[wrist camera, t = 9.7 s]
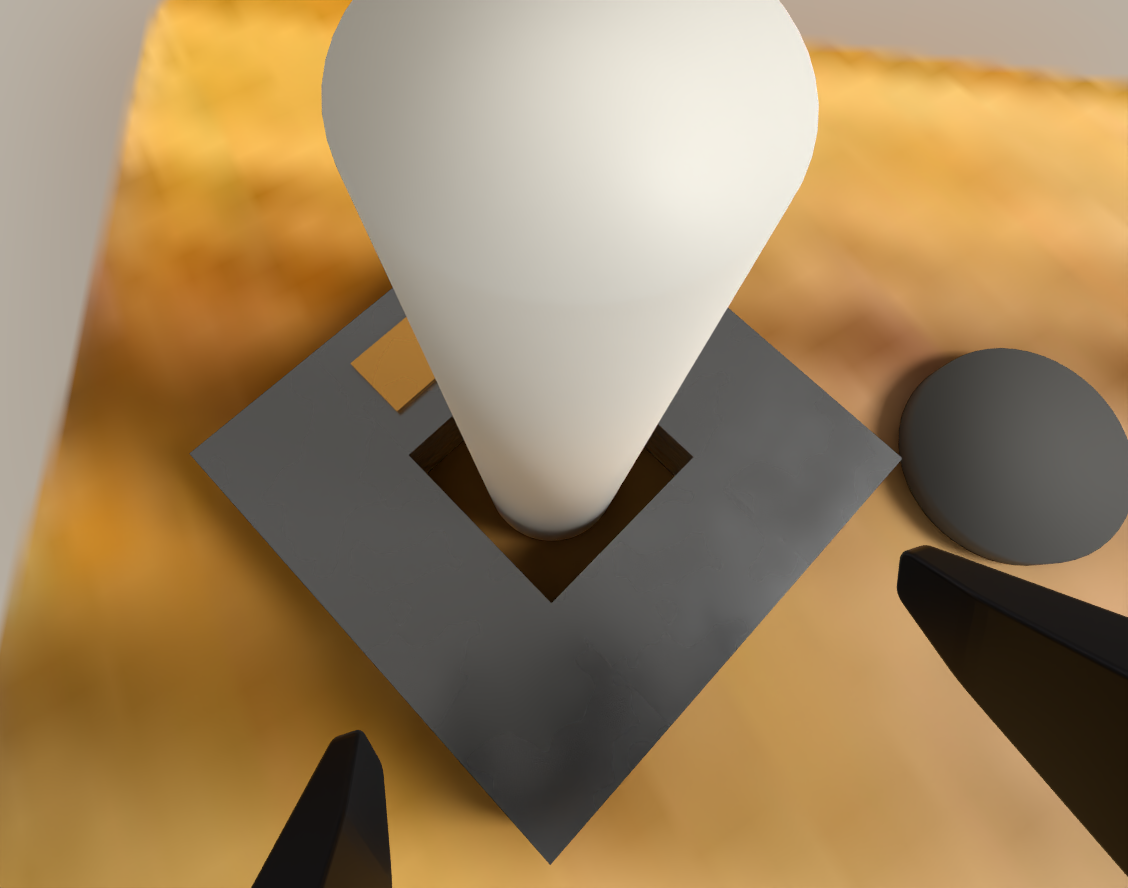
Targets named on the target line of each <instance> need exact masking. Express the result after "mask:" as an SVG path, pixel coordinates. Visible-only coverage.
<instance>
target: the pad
mask: <svg viewBox="0 0 1128 888" xmlns="http://www.w3.org/2000/svg"><path fill="white" fill-rule="evenodd" d="M899 454H900V457H901V458H902V459H901V464H902V469H903V472H904V475H905V478H906V481H907V484H908V486H909V488H910V490H911V492H912V494H913V496H914V498H915V499H916V501H917V502H918V504H919V505H920V507H921V508H922V510H923V511H924V512H925V514H926V515H927V516H928V517H929V518H930V520H931V521H932V522H933V523H934V524H935V525H936V526H937V527H938V528H939V529H940V530H941V531H942V532H943V533H944V534H946V535H947V536H948V537H950V538H951V539H952V540H953V541H955V542H956V543H958V544H959V545H961V546H963V547H964V548H966V549H967V550H969V551H971V552H973V553H975V554H978V555H980V556H982V557H984V558H987V559H990V560H993V561H997V562H1001V563H1006V564H1011V565H1024V566H1029V565H1043V564H1053V563H1062V562H1067V561H1072V560H1076V559H1079V558H1081V557H1084V556H1086V555H1089V554H1090V553H1092V552H1094V551H1096V550H1097V549H1099V548H1101V547H1102V546H1103V545H1104V544H1105V543H1107V542H1108V541H1109V540H1110V539H1111V538H1112V537H1113V536H1114V535H1115V533H1116V532H1117V531H1118V530H1119V529H1120V527H1121V525H1122V524H1123V522H1124V520H1125V519H1126V516H1127V514H1128V440H1127V437H1126V435H1125V432H1124V430H1123V428H1122V426H1121V424H1120V422H1119V420H1118V419H1117V417H1116V415H1115V414H1114V412H1113V411H1112V409H1111V408H1110V407H1109V405H1108V404H1107V403H1106V401H1105V400H1104V399H1103V398H1102V397H1101V396H1100V394H1099V393H1098V392H1097V391H1096V390H1095V389H1094V388H1093V387H1092V386H1091V385H1089V384H1088V383H1087V382H1086V381H1085V380H1084V379H1083V378H1081V377H1080V376H1078V375H1077V374H1076V373H1074V372H1073V371H1071V370H1070V369H1068V368H1067V367H1065V366H1063V365H1061V364H1059V363H1058V362H1056V361H1053V360H1051V359H1049V358H1046V357H1044V356H1041V355H1038V354H1035V353H1032V352H1028V351H1022V350H1017V349H1006V348H996V349H985V350H980V351H975V352H972V353H969V354H966V355H963V356H961V357H959V358H957V359H955V360H953V361H951V362H950V363H948V364H946V365H945V366H943V367H942V368H940V369H938V370H937V371H935V372H934V373H932V374H931V375H930V376H928V377H927V378H926V379H925V380H924V381H923V382H922V383H921V384H920V385H919V386H918V387H917V388H916V390H915V391H914V392H913V394H912V395H911V397H910V399H909V401H908V402H907V404H906V406H905V409H904V412H903V415H902V418H901V423H900V428H899Z"/></svg>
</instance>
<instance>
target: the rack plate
mask: <svg viewBox="0 0 1128 888" xmlns="http://www.w3.org/2000/svg"><path fill="white" fill-rule="evenodd" d="M463 440H464V439H463V437H462V435H461V432H460V430H459V428H458V426H457V424H456V422H455V420H454V417H453V415H452V413H451V411H450V409H449V407H448V405H447V402H446V400H445V398H444V396H443V394H442V392H441V390H440V387H439V385H438V383H437V381H436V379H435V377H434V375H433V372H432V370H431V368H430V366H429V364H428V362H427V360H426V357H425V355H424V353H423V351H422V349H421V347H420V345H419V342H418V340H417V338H416V336H415V334H414V332H413V330H412V327H411V325H410V323H409V321H408V319H407V317H406V315H405V312H404V310H403V308H402V306H401V304H400V302H399V300H398V297H397V295H396V293H395V291H394V289H393V288H392V289H391V290H390V291H388V292H387V293H386V294H385V295H383V296H382V297H381V298H380V299H379V300H377V301H376V302H375V303H374V304H372V305H371V306H370V307H369V308H368V309H366V310H365V311H364V312H363V313H361V314H360V315H359V316H358V317H356V318H355V319H354V320H353V321H352V322H350V323H349V324H348V325H347V326H345V327H344V328H343V329H342V330H341V331H339V332H338V333H337V334H336V335H334V336H333V337H332V338H331V339H329V340H328V341H327V342H326V343H325V344H323V345H322V346H321V347H320V348H318V349H317V350H316V351H315V352H314V353H312V354H311V355H310V356H309V357H307V358H306V359H305V360H304V361H302V362H301V363H300V364H299V365H298V366H296V367H295V368H294V369H293V370H291V371H290V372H289V373H288V374H287V375H285V376H284V377H283V378H282V379H280V380H279V381H278V382H277V383H276V384H274V385H273V386H272V387H271V388H269V389H268V390H267V391H266V392H264V393H263V394H262V395H261V396H260V397H258V398H257V399H256V400H255V401H253V402H252V403H251V404H250V405H249V406H247V407H246V408H245V409H244V410H242V411H241V412H240V413H239V414H237V415H236V416H235V417H234V418H233V419H231V420H230V421H229V422H228V423H226V424H225V425H224V426H223V427H222V428H220V429H219V430H218V431H217V432H215V433H214V434H213V435H212V436H210V437H209V438H208V439H207V440H206V441H204V442H203V443H202V444H201V445H199V446H198V447H197V448H196V449H195V450H193V451H192V452H191V453H190V455H191V456H192V457H193V458H194V459H195V461H196V462H197V463H198V464H199V465H200V466H201V467H202V469H203V470H204V471H205V472H206V473H207V474H208V475H209V477H210V478H211V479H212V480H213V481H214V482H215V483H216V485H217V486H218V487H219V488H220V489H221V490H222V491H223V493H224V494H225V495H226V496H227V497H228V498H229V499H230V501H231V502H232V503H233V504H234V505H235V506H236V507H237V508H238V510H239V511H240V512H241V513H242V514H243V515H244V516H245V518H246V519H247V520H248V521H249V522H250V523H251V524H252V526H253V527H254V528H255V529H256V530H257V531H258V532H259V534H260V535H261V536H262V537H263V538H264V539H265V540H266V542H267V543H268V544H269V545H270V546H271V547H272V548H273V550H274V551H275V552H276V553H277V554H278V555H279V556H280V557H281V559H282V560H283V561H284V562H285V563H286V564H287V565H288V567H289V568H290V569H291V570H292V571H293V572H294V573H295V575H296V576H297V577H298V578H299V579H300V580H301V581H302V583H303V584H304V585H305V586H306V587H307V588H308V589H309V591H310V592H311V593H312V594H313V595H314V596H315V597H316V599H317V600H318V601H319V602H320V603H321V604H322V605H323V606H324V608H325V609H326V610H327V611H328V612H329V613H330V614H331V616H332V617H333V618H334V619H335V620H336V621H337V622H338V624H339V625H340V626H341V627H342V628H343V629H344V630H345V632H346V633H347V634H348V635H349V636H350V637H351V638H352V640H353V641H354V642H355V643H356V644H357V645H358V646H359V648H360V649H361V650H362V651H363V652H364V653H365V654H366V655H367V657H368V658H369V659H370V660H371V661H372V662H373V663H374V665H375V666H376V667H377V668H378V669H379V670H380V671H381V673H382V674H383V675H384V676H385V677H386V678H387V679H388V681H389V682H390V683H391V684H392V685H393V686H394V687H395V689H396V690H397V691H398V692H399V693H400V694H401V695H402V697H403V698H404V699H405V700H406V701H407V702H408V703H409V704H410V706H411V707H412V708H413V709H414V710H415V711H416V712H417V714H418V715H419V716H420V717H421V718H422V719H423V720H424V722H425V723H426V724H427V725H428V726H429V727H430V728H431V730H432V731H433V732H434V733H435V734H436V735H437V736H438V738H439V739H440V740H441V741H442V742H443V743H444V744H445V746H446V747H447V748H448V749H449V750H450V751H451V752H452V753H453V755H454V756H455V757H456V758H457V759H458V760H459V761H460V763H461V764H462V765H463V766H464V767H465V768H466V769H467V771H468V772H469V773H470V774H471V775H472V776H473V777H474V779H475V780H476V781H477V782H478V783H479V784H480V785H481V787H482V788H483V789H484V790H485V791H486V792H487V793H488V795H489V796H490V797H491V798H492V799H493V800H494V801H495V802H496V804H497V805H498V806H499V807H500V808H501V809H502V810H503V812H504V813H505V814H506V815H507V816H508V817H509V818H510V820H511V821H512V822H513V823H514V824H515V825H516V826H517V828H518V829H519V830H520V831H521V832H522V833H523V834H524V836H525V837H526V838H527V839H528V840H529V841H530V842H531V844H532V845H533V846H534V847H535V848H536V849H537V850H538V851H539V853H540V854H541V855H542V856H543V857H544V858H545V859H546V861H547V862H548V863H549V864H550V865H551V863H552V862H553V861H554V860H555V859H556V858H557V856H558V855H559V854H560V853H561V852H562V851H563V850H564V848H565V847H566V846H567V845H568V844H569V843H570V841H571V840H572V839H573V838H574V837H575V836H576V835H577V833H578V832H579V831H580V830H581V829H582V828H583V826H584V825H585V824H586V823H587V822H588V821H589V820H590V818H591V817H592V816H593V815H594V814H595V813H596V811H597V810H598V809H599V808H600V807H601V806H602V805H603V803H604V802H605V801H606V800H607V799H608V798H609V796H610V795H611V794H612V793H613V792H614V791H615V790H616V788H617V787H618V786H619V785H620V784H621V783H622V781H623V780H624V779H625V778H626V777H627V776H628V775H629V773H630V772H631V771H632V770H633V769H634V768H635V766H636V765H637V764H638V763H639V762H640V761H641V760H642V758H643V757H644V756H645V755H646V754H647V753H648V751H649V750H650V749H651V748H652V747H653V746H654V745H655V743H656V742H657V741H658V740H659V739H660V738H661V736H662V735H663V734H664V733H665V732H666V731H667V730H668V728H669V727H670V726H671V725H672V724H673V723H674V721H675V720H676V719H677V718H678V717H679V716H680V715H681V713H682V712H683V711H684V710H685V709H686V708H687V706H688V705H689V704H690V703H691V702H692V701H693V699H694V698H695V697H696V696H697V695H698V694H699V693H700V691H701V690H702V689H703V688H704V687H705V686H706V684H707V683H708V682H709V681H710V680H711V679H712V678H713V676H714V675H715V674H716V673H717V672H718V671H719V669H720V668H721V667H722V666H723V665H724V664H725V663H726V661H727V660H728V659H729V658H730V657H731V656H732V654H733V653H734V652H735V651H736V650H737V649H738V648H739V646H740V645H741V644H742V643H743V642H744V641H745V639H746V638H747V637H748V636H749V635H750V634H751V633H752V631H753V630H754V629H755V628H756V627H757V626H758V624H759V623H760V622H761V621H762V620H763V619H764V618H765V616H766V615H767V614H768V613H769V612H770V611H771V609H772V608H773V607H774V606H775V605H776V604H777V603H778V601H779V600H780V599H781V598H782V597H783V596H784V594H785V593H786V592H787V591H788V590H789V589H790V588H791V586H792V585H793V584H794V583H795V582H796V581H797V579H798V578H799V577H800V576H801V575H802V574H803V573H804V571H805V570H806V569H807V568H808V567H809V566H810V564H811V563H812V562H813V561H814V560H815V559H816V558H817V556H818V555H819V554H820V553H821V552H822V551H823V549H824V548H825V547H826V546H827V545H828V544H829V543H830V541H831V540H832V539H833V538H834V537H835V536H836V534H837V533H838V532H839V531H840V530H841V529H842V528H843V526H844V525H845V524H846V523H847V522H848V521H849V519H850V518H851V517H852V516H853V515H854V514H855V513H856V511H857V510H858V509H859V508H860V507H861V506H862V504H863V503H864V502H865V501H866V500H867V499H868V498H869V496H870V495H871V494H872V493H873V492H874V491H875V489H876V488H877V487H878V486H879V485H880V484H881V483H882V481H883V480H884V479H885V478H886V477H887V476H888V474H889V473H890V472H891V471H892V470H893V469H894V468H895V466H896V465H897V464H898V463H899V462H900V461H901V459H902V458H901V457H900V456H899V455H898V454H897V453H896V452H894V451H893V450H892V449H891V448H890V447H889V446H888V445H886V444H885V443H884V442H883V441H882V440H881V439H879V438H878V437H877V436H876V435H875V434H874V433H872V432H871V431H870V430H869V429H868V428H867V427H865V426H864V425H863V424H862V423H861V422H860V421H859V420H857V419H856V418H855V417H854V416H853V415H852V414H850V413H849V412H848V411H847V410H846V409H845V408H843V407H842V406H841V405H840V404H839V403H838V402H837V401H835V400H834V399H833V398H832V397H831V396H830V395H828V394H827V393H826V392H825V391H824V390H823V389H821V388H820V387H819V386H818V385H817V384H816V383H815V382H813V381H812V380H811V379H810V378H809V377H808V376H806V375H805V374H804V373H803V372H802V371H801V370H799V369H798V368H797V367H796V366H795V365H794V364H793V363H791V362H790V361H789V360H788V359H787V358H786V357H784V356H783V355H782V354H781V353H780V352H779V351H777V350H776V349H775V348H774V347H773V346H772V345H770V344H769V343H768V342H767V341H766V340H765V339H764V338H762V337H761V336H760V335H759V334H758V333H757V332H755V331H754V330H753V329H752V328H751V327H750V326H748V325H747V324H746V323H745V322H744V321H743V320H742V319H740V318H739V317H738V316H737V315H736V314H735V313H733V312H732V311H731V310H730V309H729V308H727V309H726V311H725V313H724V314H723V316H722V318H721V319H720V321H719V323H718V324H717V326H716V328H715V329H714V331H713V333H712V334H711V336H710V338H709V339H708V341H707V343H706V344H705V346H704V348H703V349H702V351H701V353H700V354H699V356H698V358H697V359H696V361H695V363H694V364H693V366H692V368H691V369H690V371H689V373H688V374H687V376H686V378H685V379H684V381H683V383H682V384H681V386H680V388H679V389H678V391H677V393H676V394H675V396H674V398H673V399H672V401H671V403H670V404H669V406H668V408H667V409H666V411H665V413H664V414H663V416H662V418H661V419H660V421H659V423H658V424H657V426H656V428H655V429H654V431H653V433H652V434H651V436H650V438H649V439H648V441H647V443H646V444H645V446H644V447H645V448H646V449H647V450H648V451H649V452H650V453H651V454H652V455H653V456H654V457H655V458H656V459H657V460H659V461H660V462H661V463H662V464H663V465H664V466H665V467H666V468H667V469H668V470H669V471H670V472H671V473H672V474H673V475H674V476H675V477H674V478H673V479H672V480H671V481H670V482H669V483H668V484H667V485H666V486H665V487H664V488H663V489H662V490H661V491H660V492H659V493H658V494H657V495H656V496H655V497H654V498H653V499H652V500H651V501H650V502H649V503H648V504H647V505H646V507H645V508H644V509H643V510H642V511H641V512H640V513H639V514H638V515H637V516H636V517H635V518H634V519H633V520H632V521H631V522H630V523H629V524H628V525H627V526H626V527H625V528H624V529H623V530H622V531H621V532H620V533H619V534H618V535H617V536H616V537H615V538H614V539H613V540H612V541H611V543H610V544H609V545H608V546H607V547H606V548H605V549H604V550H603V551H602V552H601V553H600V554H599V555H598V556H597V557H596V558H595V559H594V560H593V561H592V562H591V563H590V564H589V565H588V566H587V567H586V568H585V569H584V570H583V571H582V572H581V573H580V574H579V575H578V576H577V578H576V579H575V580H574V581H573V582H572V583H571V584H570V585H569V586H568V587H567V588H566V589H565V590H564V591H563V592H562V593H561V594H560V595H559V596H558V597H557V598H556V599H555V600H554V601H553V602H552V603H551V602H550V601H549V600H548V599H547V598H546V597H545V596H544V595H543V594H542V593H541V592H540V591H539V590H538V589H537V588H536V587H535V586H534V585H533V584H532V583H531V582H530V581H529V580H528V579H527V578H526V577H525V575H524V574H523V573H522V572H521V571H520V570H519V569H518V568H517V567H516V566H515V565H514V564H513V563H512V562H511V561H510V560H509V559H508V558H507V557H506V556H505V555H504V554H503V553H502V552H501V551H500V550H499V548H498V547H497V546H496V545H495V544H494V543H493V542H492V541H491V540H490V539H489V538H488V537H487V536H486V535H485V534H484V533H483V532H482V531H481V530H480V529H479V528H478V527H477V526H476V525H475V524H474V523H473V522H472V520H471V519H470V518H469V517H468V516H467V515H466V514H465V513H464V512H463V511H462V510H461V509H460V508H459V507H458V506H457V505H456V504H455V503H454V502H453V501H452V500H451V499H450V498H449V497H448V496H447V495H446V494H445V492H444V491H443V490H442V489H441V488H440V487H439V486H438V485H437V484H436V483H435V482H434V481H433V480H432V479H431V478H430V477H429V476H428V475H427V473H428V472H429V471H430V470H431V469H432V468H434V467H435V466H436V465H437V464H438V463H439V462H440V461H441V460H442V459H443V458H445V457H446V456H447V455H448V454H449V453H450V452H451V451H452V450H453V449H454V448H455V447H457V446H458V445H459V444H460V443H461V442H462V441H463Z"/></svg>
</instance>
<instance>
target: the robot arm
mask: <svg viewBox="0 0 1128 888" xmlns="http://www.w3.org/2000/svg"><path fill="white" fill-rule="evenodd" d="M897 592H898V595H899V598H900V600H901V602H902V603H903V605H904V606H905V607H906V609H907V610H908V612H909V613H910V614H911V616H912V617H913V619H914V620H915V621H916V623H917V624H918V626H919V627H920V628H921V630H922V631H923V633H924V634H925V635H926V637H927V638H928V640H929V641H930V642H931V644H932V645H933V647H934V648H935V649H936V651H937V652H938V654H939V655H940V657H941V658H942V659H943V661H944V662H945V664H946V665H947V666H948V668H949V669H950V670H951V672H952V673H953V674H954V676H955V677H956V678H957V680H958V681H959V682H960V683H961V685H962V686H963V687H964V688H965V689H966V691H967V692H968V693H969V694H970V695H971V697H972V698H973V699H974V700H975V701H976V702H977V703H978V705H979V706H980V707H981V708H982V709H983V710H984V712H985V713H986V714H987V715H988V716H989V717H990V718H991V720H992V721H993V722H994V723H995V724H996V725H997V727H998V728H999V729H1000V730H1001V731H1002V732H1003V733H1004V735H1005V736H1006V737H1007V738H1008V739H1009V740H1010V742H1011V743H1012V744H1013V745H1014V746H1015V747H1016V748H1017V750H1018V751H1019V752H1020V753H1021V754H1022V755H1023V757H1024V758H1025V759H1026V760H1027V761H1028V762H1029V763H1030V765H1031V766H1032V767H1033V768H1034V769H1035V770H1036V772H1037V773H1038V774H1039V775H1040V776H1041V777H1042V778H1043V780H1044V781H1045V782H1046V783H1047V784H1048V785H1049V787H1050V788H1051V789H1052V790H1053V791H1054V792H1055V793H1056V795H1057V796H1058V797H1059V798H1060V799H1061V800H1062V801H1063V803H1064V804H1065V805H1066V806H1067V807H1068V808H1069V810H1070V811H1071V812H1072V813H1073V814H1074V815H1075V816H1076V818H1077V819H1078V820H1079V821H1080V822H1081V823H1082V825H1083V826H1084V827H1085V828H1086V829H1087V830H1088V831H1089V833H1090V834H1091V835H1092V836H1093V837H1094V838H1095V840H1096V841H1097V842H1098V843H1099V844H1100V845H1101V846H1102V848H1103V849H1104V850H1105V851H1106V852H1107V853H1108V855H1109V856H1110V857H1111V858H1112V859H1113V860H1114V861H1115V863H1116V864H1117V865H1118V866H1119V867H1120V868H1121V870H1122V871H1123V872H1124V873H1125V874H1126V875H1127V876H1128V617H1125V616H1123V615H1120V614H1117V613H1114V612H1112V611H1109V610H1106V609H1103V608H1101V607H1098V606H1095V605H1092V604H1090V603H1087V602H1084V601H1081V600H1078V599H1076V598H1073V597H1070V596H1067V595H1065V594H1062V593H1059V592H1056V591H1054V590H1051V589H1048V588H1045V587H1043V586H1040V585H1037V584H1034V583H1032V582H1029V581H1026V580H1023V579H1021V578H1018V577H1015V576H1012V575H1009V574H1007V573H1004V572H1001V571H998V570H996V569H993V568H990V567H987V566H985V565H982V564H979V563H976V562H974V561H971V560H968V559H965V558H963V557H960V556H957V555H954V554H952V553H949V552H946V551H943V550H940V549H938V548H935V547H932V546H927V545H923V546H919V547H916V548H913V549H910V550H907V551H905V552H903V553H902V555H901V556H900V562H899V571H898V580H897ZM251 888H392V874H391V860H390V847H389V835H388V823H387V810H386V798H385V786H384V774H383V769H382V765H381V762H380V760H379V758H378V756H377V755H376V753H375V751H374V749H373V748H372V746H371V744H370V742H369V741H368V739H367V737H366V735H365V734H364V733H363V732H362V731H361V730H355V731H352V732H349V733H346V734H343V735H340V736H337V737H335V738H334V739H333V740H332V741H331V742H330V744H329V746H328V747H327V749H326V751H325V753H324V755H323V757H322V759H321V760H320V762H319V764H318V766H317V768H316V770H315V771H314V773H313V775H312V777H311V779H310V781H309V782H308V784H307V786H306V788H305V790H304V792H303V793H302V795H301V797H300V799H299V801H298V803H297V804H296V806H295V808H294V810H293V812H292V814H291V816H290V817H289V819H288V821H287V823H286V825H285V827H284V828H283V830H282V832H281V834H280V836H279V838H278V839H277V841H276V843H275V845H274V847H273V849H272V850H271V852H270V854H269V856H268V858H267V860H266V861H265V863H264V865H263V867H262V869H261V871H260V873H259V874H258V876H257V878H256V880H255V882H254V884H253V885H252V887H251Z"/></svg>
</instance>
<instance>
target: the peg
mask: <svg viewBox="0 0 1128 888" xmlns="http://www.w3.org/2000/svg"><path fill="white" fill-rule="evenodd" d="M818 106H819V104H818V95H817V87H816V78H815V75H814V71H813V67H812V64H811V60H810V57H809V53H808V51H807V49H806V46H805V44H804V42H803V40H802V37H801V35H800V33H799V31H798V29H797V27H796V25H795V24H794V22H793V21H792V19H791V17H790V16H789V14H788V12H787V11H786V9H785V8H784V6H783V5H782V4H781V2H780V1H779V0H352V2H351V3H350V5H349V6H348V8H347V9H346V11H345V12H344V14H343V16H342V18H341V20H340V22H339V24H338V26H337V28H336V31H335V33H334V35H333V38H332V41H331V44H330V47H329V50H328V53H327V57H326V60H325V66H324V73H323V80H322V115H323V121H324V126H325V132H326V137H327V141H328V144H329V147H330V150H331V153H332V156H333V158H334V161H335V164H336V167H337V169H338V171H339V173H340V175H341V178H342V180H343V182H344V184H345V186H346V188H347V190H348V193H349V195H350V197H351V199H352V201H353V203H354V205H355V208H356V210H357V212H358V214H359V216H360V218H361V220H362V223H363V225H364V227H365V229H366V231H367V233H368V235H369V238H370V240H371V242H372V244H373V246H374V248H375V250H376V252H377V255H378V257H379V259H380V261H381V263H382V265H383V267H384V270H385V272H386V274H387V276H388V278H389V280H390V282H391V285H392V287H393V289H394V291H395V293H396V295H397V297H398V300H399V302H400V304H401V306H402V308H403V310H404V312H405V315H406V317H407V319H408V321H409V323H410V325H411V327H412V330H413V332H414V334H415V336H416V338H417V340H418V342H419V345H420V347H421V349H422V351H423V353H424V355H425V357H426V360H427V362H428V364H429V366H430V368H431V370H432V372H433V375H434V377H435V379H436V381H437V383H438V385H439V387H440V390H441V392H442V394H443V396H444V398H445V400H446V402H447V405H448V407H449V409H450V411H451V413H452V415H453V417H454V420H455V422H456V424H457V426H458V428H459V430H460V432H461V435H462V437H463V439H464V441H465V443H466V445H467V447H468V450H469V452H470V454H471V456H472V458H473V460H474V462H475V465H476V467H477V469H478V471H479V473H480V475H481V477H482V480H483V482H484V484H485V486H486V488H487V490H488V492H489V495H490V497H491V499H492V501H493V503H494V505H495V507H496V509H497V511H498V512H499V514H500V515H501V516H502V518H503V519H504V520H505V521H506V522H507V523H508V524H509V525H510V526H511V527H513V528H514V529H515V530H517V531H519V532H520V533H522V534H524V535H526V536H529V537H531V538H535V539H539V540H545V541H557V540H564V539H568V538H572V537H575V536H577V535H580V534H581V533H583V532H585V531H587V530H588V529H589V528H591V527H592V526H593V525H594V524H595V523H596V522H597V521H598V520H599V519H600V518H601V517H602V515H603V514H604V513H605V511H606V509H607V508H608V506H609V504H610V503H611V501H612V499H613V498H614V496H615V494H616V493H617V491H618V489H619V488H620V486H621V484H622V483H623V481H624V479H625V478H626V476H627V474H628V473H629V471H630V469H631V468H632V466H633V464H634V463H635V461H636V459H637V458H638V456H639V454H640V453H641V451H642V449H643V448H644V446H645V444H646V443H647V441H648V439H649V438H650V436H651V434H652V433H653V431H654V429H655V428H656V426H657V424H658V423H659V421H660V419H661V418H662V416H663V414H664V413H665V411H666V409H667V408H668V406H669V404H670V403H671V401H672V399H673V398H674V396H675V394H676V393H677V391H678V389H679V388H680V386H681V384H682V383H683V381H684V379H685V378H686V376H687V374H688V373H689V371H690V369H691V368H692V366H693V364H694V363H695V361H696V359H697V358H698V356H699V354H700V353H701V351H702V349H703V348H704V346H705V344H706V343H707V341H708V339H709V338H710V336H711V334H712V333H713V331H714V329H715V328H716V326H717V324H718V323H719V321H720V319H721V318H722V316H723V314H724V313H725V311H726V309H727V308H728V306H729V304H730V303H731V301H732V299H733V298H734V296H735V294H736V293H737V291H738V289H739V288H740V286H741V284H742V283H743V281H744V279H745V278H746V276H747V274H748V273H749V271H750V269H751V268H752V266H753V264H754V263H755V261H756V259H757V258H758V256H759V254H760V253H761V251H762V249H763V248H764V246H765V244H766V243H767V241H768V239H769V238H770V236H771V234H772V233H773V231H774V229H775V228H776V226H777V224H778V223H779V221H780V219H781V218H782V216H783V214H784V213H785V211H786V209H787V208H788V206H789V204H790V203H791V201H792V199H793V197H794V196H795V194H796V192H797V190H798V189H799V187H800V185H801V184H802V182H803V179H804V176H805V174H806V171H807V169H808V166H809V163H810V161H811V158H812V155H813V150H814V145H815V140H816V135H817V130H818Z"/></svg>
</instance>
